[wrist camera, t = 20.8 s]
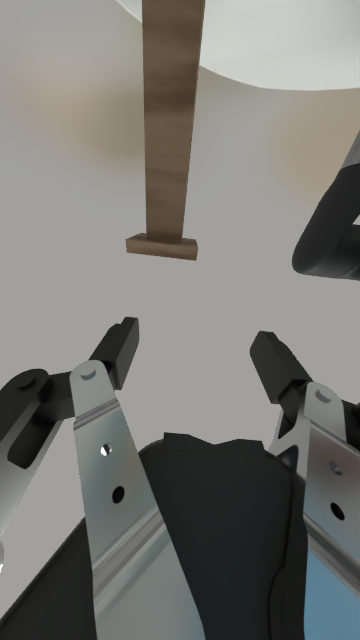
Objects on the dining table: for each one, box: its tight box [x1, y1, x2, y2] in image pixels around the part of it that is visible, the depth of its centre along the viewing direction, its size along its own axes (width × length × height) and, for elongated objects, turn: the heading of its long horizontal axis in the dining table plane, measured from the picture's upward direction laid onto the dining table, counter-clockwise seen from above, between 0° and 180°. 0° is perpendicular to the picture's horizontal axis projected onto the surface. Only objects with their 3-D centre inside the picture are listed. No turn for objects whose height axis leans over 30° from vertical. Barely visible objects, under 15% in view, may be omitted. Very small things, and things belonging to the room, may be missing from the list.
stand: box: [126, 0, 205, 261], centre depth 22 cm, size 10×12×32 cm
